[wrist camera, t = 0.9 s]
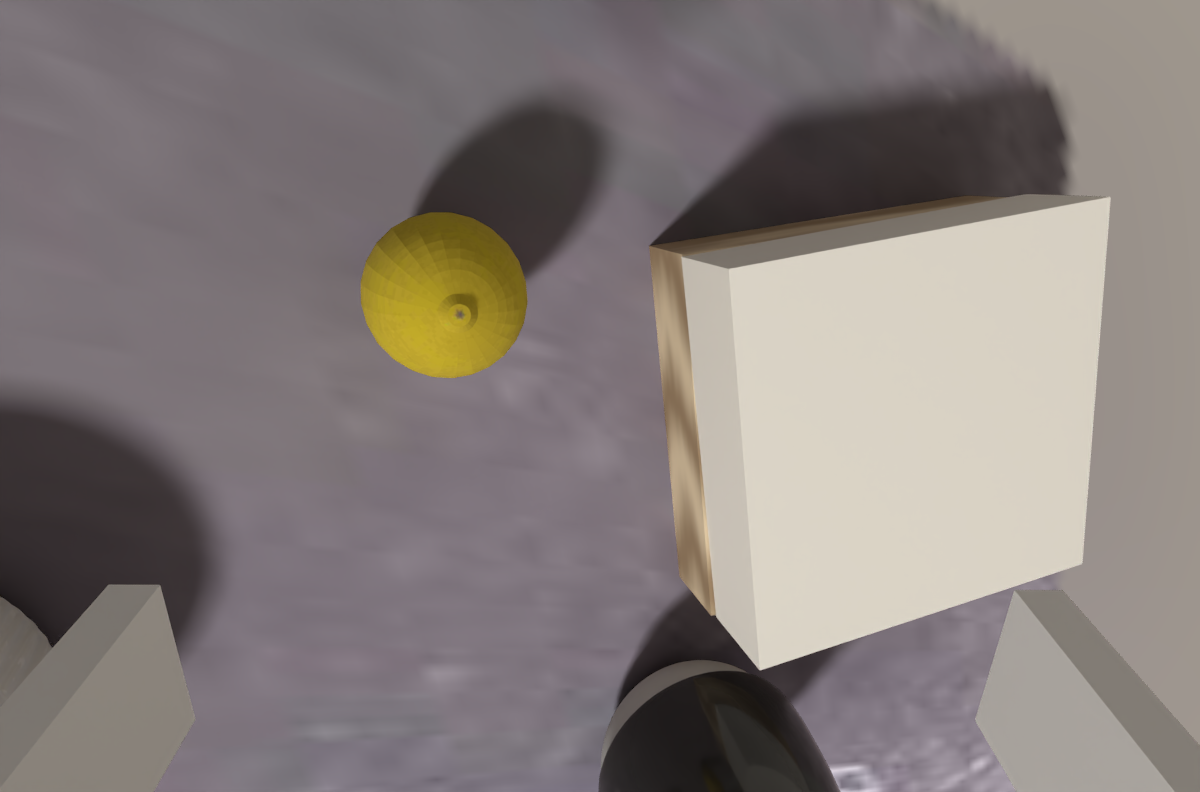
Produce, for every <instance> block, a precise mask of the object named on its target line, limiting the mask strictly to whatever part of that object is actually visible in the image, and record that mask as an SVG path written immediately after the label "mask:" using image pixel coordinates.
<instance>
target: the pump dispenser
mask: <svg viewBox="0 0 1200 792" xmlns="http://www.w3.org/2000/svg"><path fill="white" fill-rule="evenodd" d="M599 792H840V790H839V788H838V785H837V783H836V781H835V779H834V777H833V774H832V772H831V770H830V768H829V766H828V764H827V762H826V760H825V759H824V757H823V755H822V753H821V751H820V749H819V747H818V745H817V744H816V742H815V740H814V738H813V737H812V735H811V733H810V731H809V729H808V728H807V726H806V724H805V723H804V721H803V719H802V718H801V716H800V715H799V713H798V712H797V711H796V709H795V708H794V706H793V705H792V704H791V703H790V701H789V700H788V699H787V698H786V696H785V695H784V694H783V693H782V692H781V691H780V690H779V689H778V688H777V687H776V686H774V685H773V684H771V683H770V682H768V681H767V680H765V679H763V678H761V677H758V676H756V675H753V674H750V673H747V672H746V671H744V670H742V669H739V668H737V667H735V666H732V665H729V664H726V663H722V662H717V661H710V660H692V661H685V662H680V663H676V664H673V665H670V666H667V667H665V668H662V669H660V670H658V671H656V672H655V673H653V674H651V675H649V676H648V677H647V678H645V679H644V680H642V681H641V682H640V683H639V684H637V685H636V686H635V687H634V688H633V689H632V690H631V691H630V692H629V693H628V695H627V696H626V697H625V698H624V699H623V701H622V702H621V703H620V705H619V707H618V708H617V710H616V711H615V713H614V715H613V717H612V719H611V721H610V724H609V726H608V729H607V732H606V735H605V738H604V743H603V748H602V756H601V772H600V778H599Z"/></svg>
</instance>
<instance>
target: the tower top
mask: <svg viewBox="0 0 1200 792" xmlns="http://www.w3.org/2000/svg"><path fill="white" fill-rule="evenodd" d="M1109 212H1110V197H1100V196H1099V197H1098V196H1070V195H1040V194H1024V195H1018V196H1013V197H1007V198H1002V199H996V200H991V201H985V202H980V203H974V204H969V205H963V206H958V207H952V208H947V209H941V210H936V211H930V212H925V213H919V214H914V215H908V216H903V217H897V218H892V219H886V220H881V221H875V222H870V223H864V224H859V225H853V226H848V227H842V228H837V229H831V230H826V231H820V232H815V233H809V234H804V235H798V236H793V237H787V238H782V239H777V240H771V241H766V242H760V243H755V244H749V245H744V246H738V247H733V248H727V249H722V250H716V251H711V252H705V253H700V254H694V255H689V256H683V257H681V258H682V268H683V279H684V289H685V299H686V310H687V320H688V331H689V341H690V351H691V362H692V372H693V382H694V393H695V403H696V413H697V424H698V434H699V445H700V455H701V465H702V476H703V486H704V496H705V507H706V517H707V527H708V538H709V548H710V558H711V569H712V579H713V590H714V600H715V610H716V617H717V619H718V620H719V621H720V622H721V624H722V625H723V626H724V627H725V628H726V630H727V631H728V632H729V633H730V635H731V636H732V637H733V638H734V639H735V641H736V642H737V643H738V644H739V646H740V647H741V648H742V649H743V651H744V652H745V653H746V654H747V655H748V657H749V658H750V659H751V660H752V662H753V663H754V664H755V665H756V667H757V668H758V669H759V670H763V669H766V668H769V667H772V666H775V665H778V664H781V663H784V662H787V661H790V660H793V659H796V658H799V657H802V656H805V655H808V654H811V653H814V652H817V651H820V650H824V649H827V648H830V647H833V646H836V645H839V644H842V643H845V642H848V641H851V640H854V639H857V638H860V637H863V636H866V635H869V634H872V633H875V632H878V631H881V630H884V629H887V628H890V627H893V626H896V625H899V624H902V623H905V622H908V621H911V620H914V619H917V618H920V617H923V616H926V615H929V614H932V613H935V612H938V611H941V610H944V609H947V608H950V607H953V606H956V605H960V604H963V603H966V602H969V601H972V600H975V599H978V598H981V597H984V596H987V595H990V594H993V593H996V592H999V591H1002V590H1005V589H1008V588H1011V587H1014V586H1017V585H1020V584H1023V583H1026V582H1029V581H1032V580H1035V579H1038V578H1041V577H1044V576H1047V575H1050V574H1053V573H1056V572H1059V571H1062V570H1065V569H1068V568H1071V567H1074V566H1077V565H1080V564H1082V560H1083V559H1082V558H1083V547H1084V534H1085V533H1084V532H1085V520H1086V508H1087V496H1088V482H1089V470H1090V456H1091V444H1092V430H1093V418H1094V405H1095V392H1096V379H1097V366H1098V353H1099V339H1100V328H1101V327H1100V326H1101V314H1102V302H1103V289H1104V276H1105V263H1106V250H1107V237H1108V225H1109Z"/></svg>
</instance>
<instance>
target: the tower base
mask: <svg viewBox="0 0 1200 792" xmlns="http://www.w3.org/2000/svg"><path fill="white" fill-rule="evenodd" d="M1002 198H1007V197H988V196H960V197H954V198H948V199H941V200H935V201H929V202H922V203H916V204H910V205H903V206H897V207H891V208H885V209H878V210H872V211H866V212H859V213H853V214H847V215H841V216H834V217H828V218H822V219H815V220H809V221H803V222H797V223H790V224H784V225H778V226H771V227H765V228H759V229H753V230H746V231H740V232H734V233H727V234H721V235H715V236H709V237H702V238H696V239H690V240H683V241H677V242H671V243H665V244H658V245H652V246H649V249H650V260H651V270H652V281H653V292H654V303H655V314H656V325H657V335H658V346H659V357H660V368H661V379H662V390H663V401H664V411H665V422H666V433H667V444H668V455H669V466H670V476H671V487H672V498H673V509H674V520H675V531H676V541H677V552H678V563H679V574H680V578H681V579H682V580H683V581H684V583H685V584H686V585H687V586H688V588H689V589H690V590H691V591H692V593H693V594H694V595H695V596H696V598H697V599H698V600H699V601H700V603H701V604H702V605H703V606H704V608H705V609H706V610H707V611H708V613H709V614H710V615H711V616H713V615H716V610H715V600H714V590H713V579H712V569H711V558H710V548H709V538H708V527H707V517H706V507H705V496H704V486H703V476H702V465H701V455H700V445H699V434H698V424H697V413H696V403H695V393H694V382H693V372H692V362H691V351H690V341H689V331H688V320H687V310H686V299H685V289H684V279H683V268H682V258H681V257H683V256H689V255H694V254H700V253H705V252H711V251H716V250H722V249H727V248H733V247H738V246H744V245H749V244H755V243H760V242H766V241H771V240H777V239H782V238H787V237H793V236H798V235H804V234H809V233H815V232H820V231H826V230H831V229H837V228H842V227H848V226H853V225H859V224H864V223H870V222H875V221H881V220H886V219H892V218H897V217H903V216H908V215H914V214H919V213H925V212H930V211H936V210H941V209H947V208H952V207H958V206H963V205H969V204H974V203H980V202H985V201H991V200H996V199H1002Z"/></svg>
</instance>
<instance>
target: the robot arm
mask: <svg viewBox="0 0 1200 792" xmlns="http://www.w3.org/2000/svg"><path fill="white" fill-rule="evenodd" d="M194 721H195V716H194V712H193V708H192V704H191V701H190V697H189V693H188V689H187V685H186V682H185V678H184V674H183V670H182V666H181V662H180V659H179V655H178V651H177V647H176V643H175V640H174V636H173V632H172V628H171V624H170V621H169V617H168V613H167V609H166V605H165V601H164V598H163V594H162V590H161V586H160V585H108V586H107V587H106V588H105V589H104V590H103V592H102V593H101V594H100V595H99V596H98V597H97V598H96V599H95V601H94V602H93V603H92V604H91V605H90V606H89V607H88V609H87V610H86V611H85V612H84V613H83V614H82V615H81V616H80V618H79V619H78V620H77V621H76V622H75V623H74V624H73V625H72V627H71V628H70V629H69V630H68V631H67V632H66V633H65V635H64V636H63V637H62V638H61V639H60V640H59V641H58V642H57V644H56V645H55V646H54V647H53V648H52V649H51V650H50V652H49V653H48V654H47V655H46V656H45V657H44V658H43V659H42V661H41V662H40V663H39V664H38V665H37V666H36V667H35V668H34V670H33V671H32V672H31V673H30V674H29V675H28V676H27V678H26V679H25V680H24V681H23V682H22V683H21V684H20V685H19V687H18V688H17V689H16V690H15V691H14V692H13V693H12V695H11V696H10V697H9V698H8V699H7V700H6V701H5V702H4V704H3V705H2V706H1V707H0V792H154V790H155V788H156V787H157V785H158V783H159V782H160V780H161V778H162V776H163V775H164V773H165V771H166V769H167V768H168V766H169V764H170V762H171V761H172V759H173V757H174V756H175V754H176V752H177V750H178V749H179V747H180V745H181V743H182V742H183V740H184V738H185V736H186V735H187V733H188V731H189V730H190V728H191V726H192V724H193V723H194ZM975 721H976V723H977V725H978V726H979V728H980V730H981V732H982V733H983V735H984V737H985V738H986V740H987V742H988V744H989V745H990V747H991V749H992V750H993V752H994V754H995V756H996V757H997V759H998V761H999V762H1000V764H1001V766H1002V768H1003V769H1004V771H1005V773H1006V774H1007V776H1008V778H1009V780H1010V781H1011V783H1012V785H1013V787H1014V788H1015V790H1016V792H1200V745H1199V744H1198V743H1197V742H1196V741H1195V740H1194V738H1193V737H1192V736H1191V735H1190V734H1189V733H1188V732H1187V730H1186V729H1185V728H1184V727H1183V726H1182V725H1181V724H1180V722H1179V721H1178V720H1177V719H1176V718H1175V717H1174V716H1173V715H1172V713H1171V712H1170V711H1169V710H1168V709H1167V708H1166V707H1165V705H1164V704H1163V703H1162V702H1161V701H1160V700H1159V699H1158V698H1157V697H1156V695H1155V694H1154V693H1153V692H1152V691H1151V690H1150V689H1149V687H1148V686H1147V685H1146V684H1145V683H1144V682H1143V681H1142V680H1141V678H1140V677H1139V676H1138V675H1137V674H1136V673H1135V671H1134V670H1133V669H1132V668H1131V667H1130V666H1129V665H1128V664H1127V663H1126V661H1125V660H1124V659H1123V658H1122V657H1121V656H1120V654H1118V652H1117V651H1116V650H1115V649H1114V648H1113V647H1112V645H1111V644H1110V643H1109V642H1108V641H1107V640H1106V639H1105V637H1104V636H1103V635H1102V634H1101V633H1100V632H1099V631H1098V630H1097V628H1096V627H1095V626H1094V625H1093V624H1092V623H1091V622H1090V621H1089V619H1088V618H1087V617H1086V616H1085V615H1084V614H1083V613H1082V611H1081V610H1080V609H1079V608H1078V607H1077V606H1076V605H1075V604H1074V602H1073V601H1072V600H1071V599H1070V598H1069V597H1068V596H1067V594H1066V593H1065V592H1064V591H1063V590H1014V593H1013V597H1012V600H1011V603H1010V607H1009V610H1008V613H1007V616H1006V620H1005V623H1004V626H1003V630H1002V633H1001V636H1000V640H999V643H998V646H997V649H996V653H995V656H994V659H993V663H992V666H991V669H990V673H989V676H988V679H987V682H986V686H985V689H984V692H983V696H982V699H981V702H980V705H979V709H978V712H977V715H976V719H975Z"/></svg>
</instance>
